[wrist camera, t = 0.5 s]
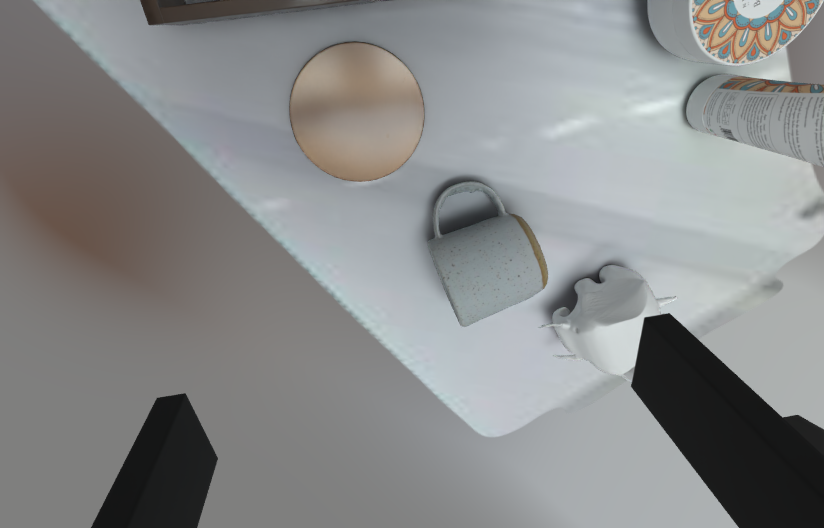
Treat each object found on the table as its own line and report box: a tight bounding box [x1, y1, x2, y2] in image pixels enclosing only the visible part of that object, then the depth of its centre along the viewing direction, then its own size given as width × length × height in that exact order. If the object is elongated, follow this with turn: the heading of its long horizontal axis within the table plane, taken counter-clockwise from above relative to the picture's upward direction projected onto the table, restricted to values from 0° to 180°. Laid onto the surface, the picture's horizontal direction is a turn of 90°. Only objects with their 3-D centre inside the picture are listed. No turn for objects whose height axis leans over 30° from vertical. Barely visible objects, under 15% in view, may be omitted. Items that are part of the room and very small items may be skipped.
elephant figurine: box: [538, 265, 678, 383], centre depth 41 cm, size 10×12×9 cm
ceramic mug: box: [427, 181, 548, 327], centre depth 36 cm, size 11×8×8 cm
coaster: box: [289, 42, 424, 182], centre depth 33 cm, size 10×10×1 cm
